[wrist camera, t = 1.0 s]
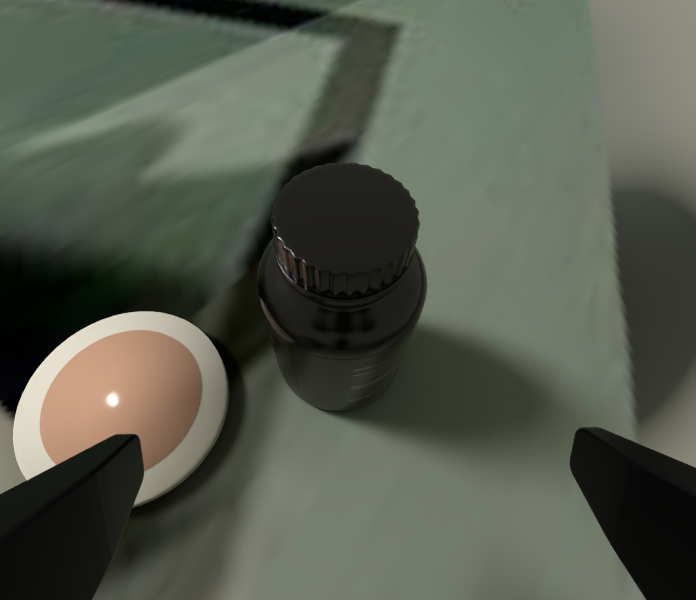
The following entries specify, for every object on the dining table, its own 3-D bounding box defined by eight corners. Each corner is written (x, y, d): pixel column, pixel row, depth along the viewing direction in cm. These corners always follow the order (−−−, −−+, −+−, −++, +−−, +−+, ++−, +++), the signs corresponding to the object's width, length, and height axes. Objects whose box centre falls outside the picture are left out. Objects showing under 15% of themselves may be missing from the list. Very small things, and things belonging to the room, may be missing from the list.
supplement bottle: (391, 303, 25) (441, 143, 15) (401, 413, 22) (475, 309, 11) (280, 302, 25) (250, 137, 14) (273, 414, 21) (225, 307, 11)
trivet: (266, 412, 21) (264, 407, 20) (81, 565, 18) (68, 567, 17) (167, 289, 25) (161, 279, 24) (-6, 396, 21) (-22, 390, 20)
